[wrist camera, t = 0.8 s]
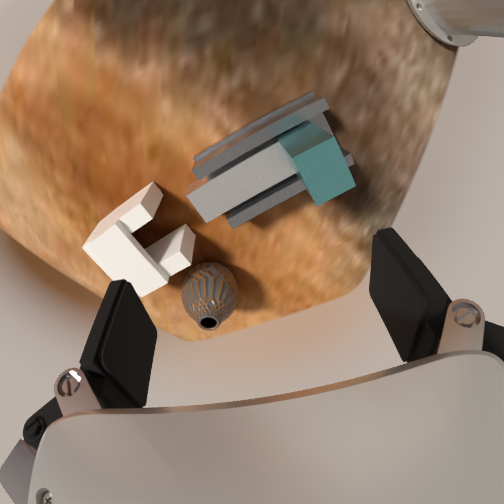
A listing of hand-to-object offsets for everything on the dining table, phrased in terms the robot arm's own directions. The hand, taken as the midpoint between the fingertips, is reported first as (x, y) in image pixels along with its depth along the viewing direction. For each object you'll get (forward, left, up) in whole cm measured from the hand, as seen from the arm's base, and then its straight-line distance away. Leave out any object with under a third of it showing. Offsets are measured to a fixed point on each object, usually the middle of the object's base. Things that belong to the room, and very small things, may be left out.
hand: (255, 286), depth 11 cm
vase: (+12, +13, -23) cm, 29 cm away
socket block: (+13, +3, -23) cm, 27 cm away
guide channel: (-3, +3, -23) cm, 23 cm away
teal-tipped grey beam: (-1, +3, -22) cm, 22 cm away
